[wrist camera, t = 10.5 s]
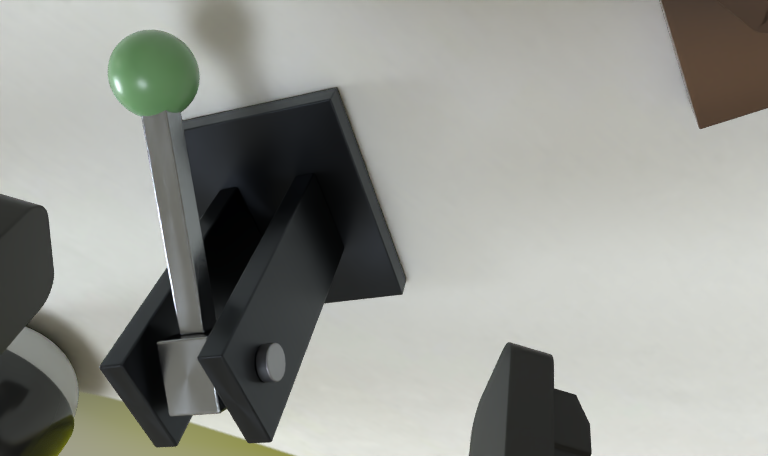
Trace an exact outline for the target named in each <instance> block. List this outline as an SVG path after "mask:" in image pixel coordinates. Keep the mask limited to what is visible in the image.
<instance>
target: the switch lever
mask: <svg viewBox="0 0 768 456" xmlns="http://www.w3.org/2000/svg"><path fill="white" fill-rule="evenodd" d="M108 80H109V84H110V87H111V89H112V91H113V93H114V95H115V97H116V98H117V100H118V101H119V102H120V103H121V104H122V105H123V106H124V107H125V108H126V109H128V110H129V111H131V112H132V113H134V114H136V115H138V116H141V117H142V122H143V128H144V134H145V140H146V145H147V151H148V157H149V163H150V168H151V174H152V180H153V185H154V191H155V197H156V203H157V208H158V214H159V220H160V225H161V231H162V237H163V243H164V248H165V254H166V260H167V265H168V271H169V277H170V283H171V288H172V294H173V300H174V305H175V311H176V317H177V323H178V328H179V333H177V334H175V335H172V336H170V337H167V338H165V339H162V340H160V341H158V342H157V343H156V345H157V351H158V357H159V362H160V368H161V374H162V380H163V385H164V391H165V397H166V402H167V408H168V414H169V416H185V415H201V414H217V413H221V412H223V411H224V410H226V409H227V408H226V406H225V404H224V403H223V401H222V399H221V398H220V396H219V394H218V393H217V391H216V389H215V388H214V386H213V384H212V383H211V381H210V379H209V378H208V376H207V374H206V373H205V371H204V370H203V368H202V366H201V365H200V363H199V361H198V360H197V357H198V355H199V353H200V351H201V349H202V347H203V346H204V344H205V342H206V340H207V338H208V336H209V334H210V333H211V331H212V329H213V327H214V325H215V323H216V322H217V319H216V313H215V307H214V302H213V296H212V290H211V284H210V278H209V273H208V267H207V261H206V255H205V249H204V244H203V238H202V232H201V226H200V220H199V215H198V209H197V203H196V197H195V191H194V186H193V180H192V174H191V168H190V162H189V157H188V151H187V145H186V139H185V133H184V128H183V122H182V116H181V112H182V111H183V110H184V109H186V108H187V107H188V106H189V104H190V103H191V102H192V101H193V99H194V97H195V95H196V93H197V90H198V87H199V80H200V75H199V68H198V64H197V61H196V59H195V57H194V55H193V53H192V52H191V50H190V49H189V48H188V47H187V46H186V44H185V43H183V42H182V41H181V40H180V39H178V38H177V37H175V36H173V35H171V34H169V33H167V32H163V31H158V30H143V31H139V32H135V33H133V34H131V35H129V36H127V37H126V38H124V39H123V40H122V41H121V42H120V43H119V44H118V45H117V46H116V47H115V49H114V50H113V52H112V54H111V57H110V60H109V64H108Z"/></svg>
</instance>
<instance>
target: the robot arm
mask: <svg viewBox="0 0 768 456" xmlns="http://www.w3.org/2000/svg"><path fill="white" fill-rule="evenodd" d="M53 279H54V267H53V257H52V248H51V238H50V229H49V219H48V213H47V211H46V209H45V208H44V207H43V206H41V205H37V204H34V203H30V202H27V201H23V200H20V199H16V198H13V197H9V196H6V195H2V194H0V355H1V354H2V353H3V352H4V351H5V350H6V348H7V347H8V346H9V345H10V344H11V343H12V341H13V340H14V339H15V338H16V337H17V336H18V334H19V333H20V332H21V331H22V330H23V329H24V327H25V326H26V325H27V324H28V323H29V322H30V320H31V319H32V318H33V317H34V316H35V315H36V313H37V312H38V311H39V310H40V309H41V307H42V306H43V305H44V303H45V302H46V300H47V298H48V296H49V294H50V291H51V288H52V284H53ZM591 454H592V453H591V436H590V423H589V421H588V419H587V417H586V415H585V413H584V411H583V409H582V407H581V405H580V402H579V400H578V398H577V396H576V395H575V394H571V393H568V392H564V391H561V390H557V389H554V361H553V356H552V355H551V354H548V353H544V352H541V351H537V350H534V349H531V348H527V347H524V346H520V345H517V344H513V343H510V342H508V343H507V344H506V345H505V347H504V349H503V351H502V353H501V355H500V357H499V360H498V362H497V364H496V366H495V368H494V370H493V373H492V375H491V377H490V379H489V381H488V384H487V386H486V388H485V390H484V392H483V394H482V397H481V399H480V402H479V404H478V407H477V411H476V414H475V418H474V422H473V427H472V433H471V442H470V451H469V456H591Z"/></svg>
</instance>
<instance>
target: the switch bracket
mask: <svg viewBox="0 0 768 456" xmlns="http://www.w3.org/2000/svg"><path fill="white" fill-rule="evenodd" d="M182 122H183V128H184V133H185V139H186V145H187V151H188V157H189V162H190V168H191V174H192V180H193V186H194V191H195V197H196V203H197V209H198V215H199V220H200V226H201V232H202V238H203V244H204V249H205V255H206V261H207V267H208V273H209V278H210V284H211V290H212V296H213V302H214V307H215V313H216V319H217V322H216V323H215V325H214V327H213V329H212V331H211V333H210V334H209V336H208V338H207V340H206V342H205V344H204V346H203V347H202V349H201V351H200V353H199V355H198V357H197V360H198V361H199V363H200V365H201V366H202V368H203V370H204V371H205V373H206V374H207V376H208V378H209V379H210V381H211V383H212V384H213V386H214V388H215V389H216V391H217V393H218V394H219V396H220V398H221V399H222V401H223V403H224V404H225V406H226V408H227V409H228V411H229V413H230V414H231V416H232V417H233V419H234V421H235V422H236V424H237V426H238V427H239V429H240V431H241V432H242V434H243V436H244V437H245V439H246V441H247V442H248V443H265V442H272V440H273V437H274V434H275V432H276V429H277V426H278V424H279V421H280V418H281V416H282V413H283V410H284V408H285V405H286V402H287V400H288V397H289V395H290V392H291V389H292V387H293V384H294V381H295V379H296V376H297V373H298V371H299V368H300V365H301V363H302V360H303V357H304V355H305V352H306V349H307V347H308V344H309V342H310V339H311V336H312V334H313V331H314V328H315V326H316V323H317V320H318V318H319V315H320V312H321V310H322V307H323V304H324V303H332V302H340V301H349V300H358V299H367V298H376V297H384V296H393V295H402V294H403V290H404V286H405V282H406V278H405V275H404V273H403V270H402V267H401V264H400V262H399V259H398V256H397V253H396V250H395V248H394V245H393V242H392V239H391V237H390V234H389V231H388V228H387V225H386V223H385V220H384V217H383V214H382V211H381V209H380V206H379V203H378V200H377V198H376V195H375V192H374V189H373V186H372V184H371V181H370V178H369V175H368V173H367V170H366V167H365V164H364V161H363V159H362V156H361V153H360V150H359V148H358V145H357V142H356V139H355V136H354V134H353V131H352V128H351V125H350V123H349V120H348V117H347V114H346V111H345V109H344V106H343V103H342V100H341V98H340V95H339V92H338V89H337V88H332V89H328V90H323V91H319V92H314V93H309V94H305V95H300V96H296V97H291V98H287V99H282V100H277V101H273V102H268V103H264V104H259V105H254V106H250V107H245V108H241V109H236V110H231V111H227V112H222V113H218V114H213V115H208V116H204V117H199V118H195V119H190V120H185V121H182ZM177 333H179V328H178V323H177V317H176V311H175V305H174V300H173V294H172V288H171V283H170V277H169V271H168V267H167V268H166V270H165V271H164V273H163V274H162V276H161V277H160V279H159V280H158V281H157V283H156V284H155V286H154V287H153V289H152V290H151V292H150V293H149V295H148V296H147V298H146V299H145V300H144V302H143V303H142V305H141V306H140V308H139V309H138V311H137V312H136V314H135V315H134V317H133V318H132V319H131V321H130V322H129V324H128V325H127V327H126V328H125V330H124V331H123V333H122V334H121V336H120V337H119V338H118V340H117V341H116V343H115V344H114V346H113V347H112V349H111V350H110V352H109V353H108V355H107V356H106V358H105V359H104V360H103V362H102V363H101V365H100V370H101V371H102V372H103V374H104V375H105V377H106V378H107V379H108V381H109V382H110V384H111V385H112V386H113V388H114V389H115V391H116V392H117V394H118V395H119V396H120V398H121V399H122V401H123V402H124V403H125V405H126V406H127V407H128V409H129V410H130V412H131V413H132V414H133V416H134V417H135V419H136V420H137V422H138V423H139V424H140V426H141V427H142V429H143V430H144V431H145V433H146V434H147V435H148V437H149V438H150V440H151V441H152V442H153V444H154V445H155V446H156V447H174V446H177V445H178V443H179V441H180V439H181V437H182V435H183V433H184V431H185V429H186V427H187V425H188V423H189V421H190V419H191V417H192V416H193V415H185V416H169V414H168V408H167V402H166V397H165V391H164V385H163V380H162V374H161V368H160V362H159V357H158V351H157V345H156V343H157V342H158V341H160V340H162V339H165V338H167V337H170V336H172V335H175V334H177Z"/></svg>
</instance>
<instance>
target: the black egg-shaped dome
mask: <svg viewBox="0 0 768 456" xmlns="http://www.w3.org/2000/svg"><path fill="white" fill-rule="evenodd" d="M78 395H79V389H78V382H77V377H76V374H75V371H74V369H73V367H72V365H71V363H70V361H69V360H68V358H67V357H66V355H65V354H64V353H63V352H62V351H61V349H60V348H59V347H58V346H56V345H55V344H54V343H53V342H52V341H51V340H49V339H48V338H46V337H45V336H43V335H42V334H40V333H38V332H36V331H34V330H32V329H30V328H28V327H24V329H23V330H22V331H21V332H20V333H19V334H18V336H17V337H16V338H15V339H14V340H13V341H12V343H11V344H10V345H9V346H8V347H7V348H6V350H5V351H4V352H3V353H2V354H1V355H0V456H58V455H59V453H60V452H61V451H62V449H63V447H64V446H65V445H66V443H67V442H68V440H69V438H70V437H71V435H72V432H73V429H74V417H75V414H76V410H77V405H78Z"/></svg>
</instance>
